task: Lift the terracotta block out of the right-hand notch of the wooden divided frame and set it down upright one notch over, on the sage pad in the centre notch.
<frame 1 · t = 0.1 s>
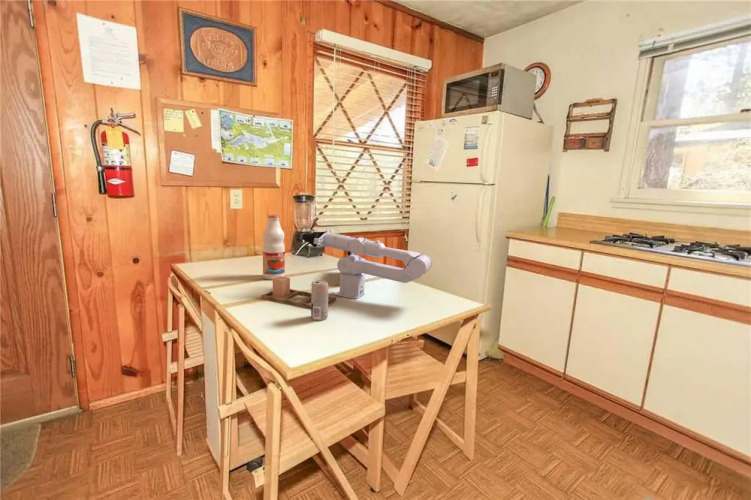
hand: (307, 235, 147), 22 cm above the table, tool horizontal, fingers open, 7 cm apart
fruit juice: (273, 277, 164), on the table
wooden divided frame: (299, 299, 135), on the table
energy drink: (319, 318, 119), on the table
picture frame: (350, 279, 168), on the table
terracotta block: (281, 296, 138), resting in wooden divided frame
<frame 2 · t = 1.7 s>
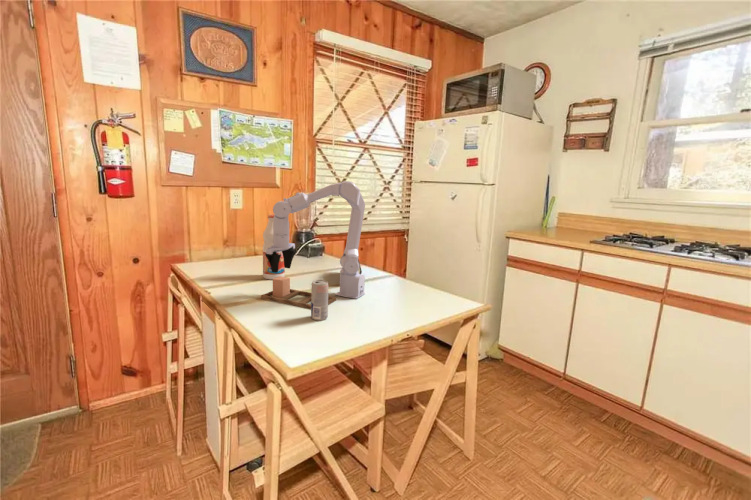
hand: (281, 270, 136), 10 cm above the table, tool pointing down, fingers open, 7 cm apart
nothing on the table moved.
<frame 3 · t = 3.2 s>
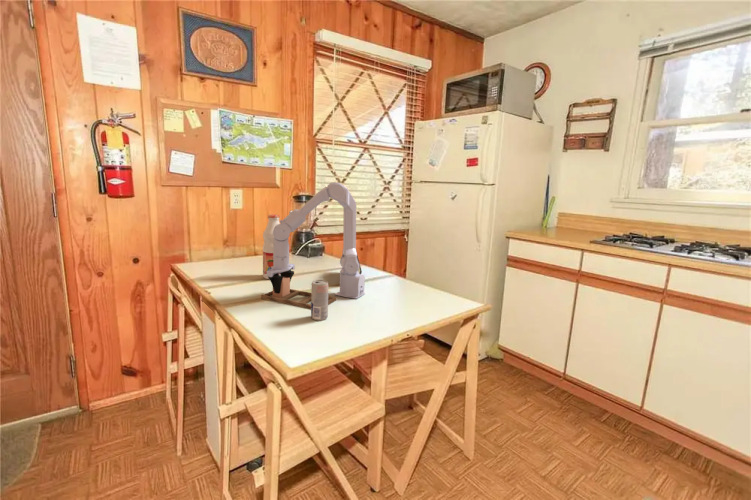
hand: (281, 291, 138), 2 cm above the table, tool pointing down, fingers closed on terracotta block, 4 cm apart
terracotta block: (281, 296, 138), resting in wooden divided frame, touching gripper
everything else where it was.
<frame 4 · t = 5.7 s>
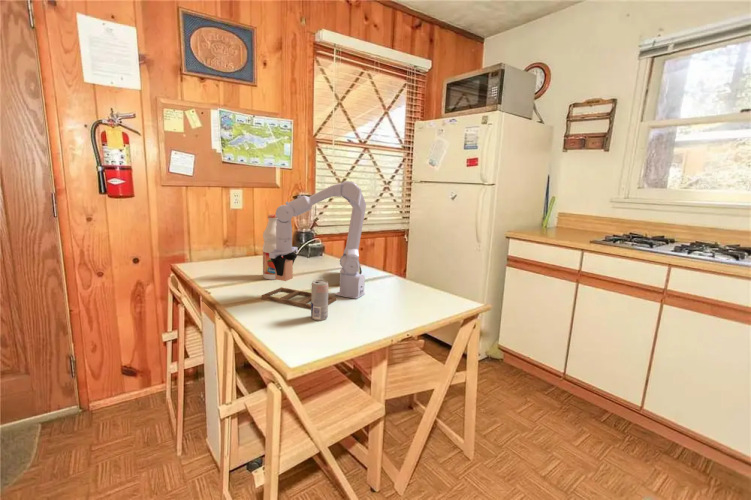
hand: (284, 273, 136), 9 cm above the table, tool pointing down, fingers closed on terracotta block, 4 cm apart
terracotta block: (284, 278, 137), point 7 cm above the table, touching gripper
everything else where it was.
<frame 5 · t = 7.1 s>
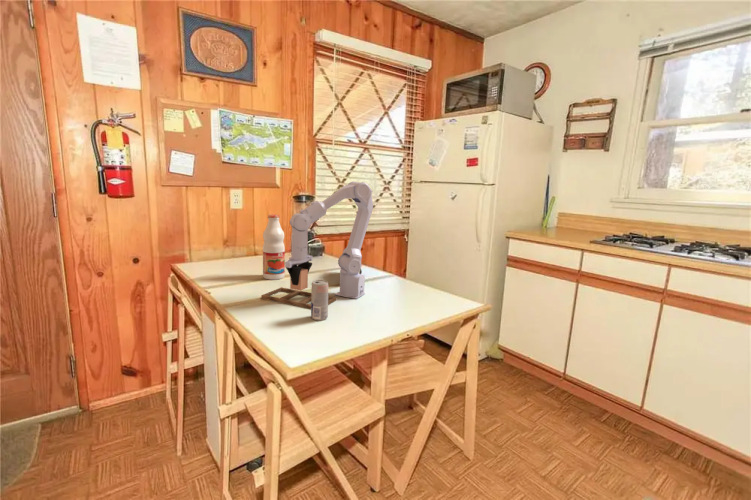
hand: (299, 283, 134), 6 cm above the table, tool pointing down, fingers closed on terracotta block, 4 cm apart
terracotta block: (299, 288, 135), point 4 cm above the table, touching gripper
everything else where it was.
when the fingers open (4 cm above the table, at t = 8.1 s): terracotta block drops 1 cm, resting on wooden divided frame.
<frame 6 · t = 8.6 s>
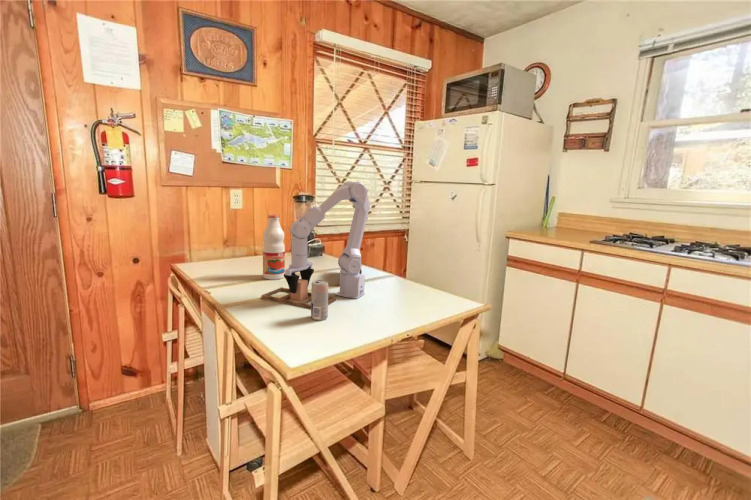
hand: (299, 290, 135), 4 cm above the table, tool pointing down, fingers open, 7 cm apart
terracotta block: (299, 298, 135), resting on wooden divided frame
everything else where it was.
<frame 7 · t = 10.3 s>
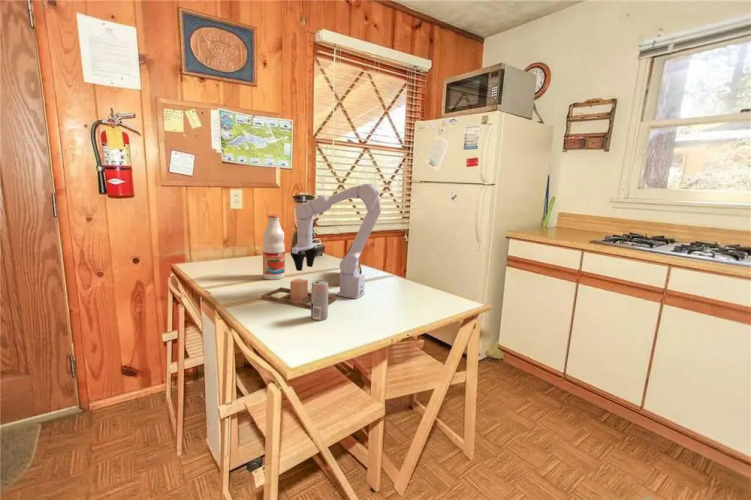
hand: (304, 268, 144), 9 cm above the table, tool pointing down, fingers open, 7 cm apart
nothing on the table moved.
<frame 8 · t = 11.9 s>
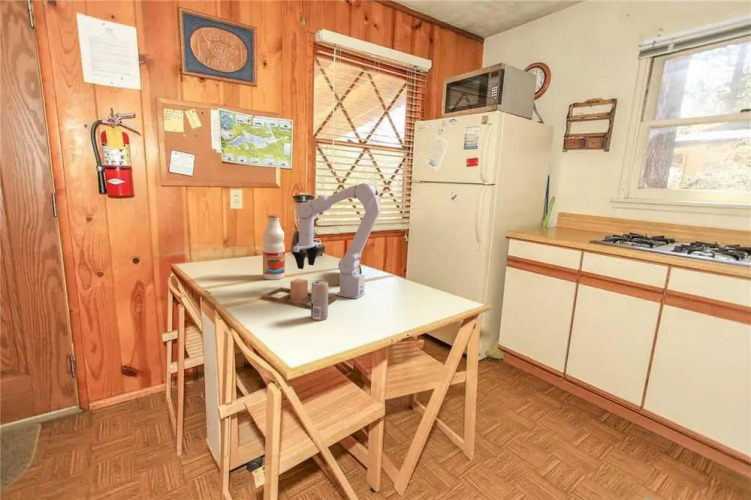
hand: (305, 266, 146), 9 cm above the table, tool pointing down, fingers open, 7 cm apart
nothing on the table moved.
at the end: terracotta block 0.0 cm off-centre on the wooden divided frame, point 0.2 cm above the wooden divided frame's base; terracotta block tilted 0°; the gripper is holding nothing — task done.
